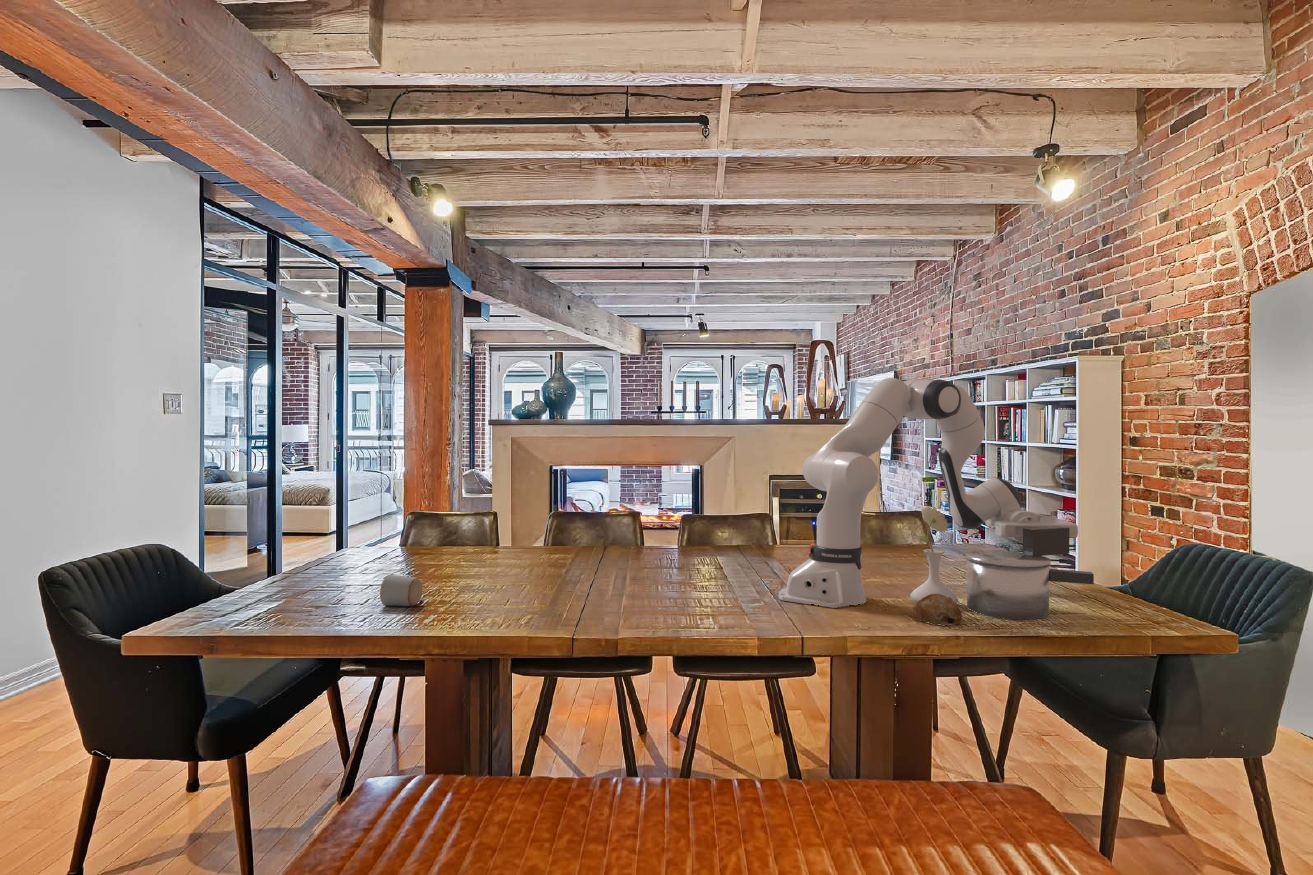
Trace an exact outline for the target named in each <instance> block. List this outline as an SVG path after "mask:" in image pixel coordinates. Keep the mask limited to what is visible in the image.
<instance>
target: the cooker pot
mask: <svg viewBox="0 0 1313 875" xmlns="http://www.w3.org/2000/svg"><path fill="white" fill-rule="evenodd" d="M1094 576H1095V574H1094V573H1093V572H1092V571H1084V570H1083V571H1082V570H1070V569H1069V570H1068V569H1058V568H1057V569H1055V568H1054V569H1052V568H1050V566H1048V567H1043V568H1009V567H998V566H991V565H985V564H979V563H975V562H972V561H969V560H967V559H966V608H967V607H968V608H969V609H971V610H973V611H975V612H977V613H976V614H978V613H981V614H984V615H983V616H985V615H986V616H985V617H989V616H990V617H991V618H995V619H1001V618H1004V619H1003V620H1009V619H1010V621H1029V622H1030V621H1041V620H1046V619H1048V618H1049V616H1050V582H1055V583H1056V582H1057V583H1068V584H1069V583H1070V584H1071V583H1072V584H1083V585H1085V584H1086V585H1095V584H1094V583H1095V582H1094V580H1095V577H1094ZM968 608H967V609H968ZM969 609H968V610H969ZM971 610H970V611H971ZM973 611H972V612H973ZM975 612H974V613H975ZM981 614H980V615H981Z"/></svg>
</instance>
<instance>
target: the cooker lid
mask: <svg viewBox="0 0 1313 875" xmlns="http://www.w3.org/2000/svg"><path fill="white" fill-rule="evenodd" d="M1069 554H1070V538H1069V528H1068V527H1061V526H1054V527H1035V528H1023V543H1022V552H1021V551H1012V550H1011V551H1010V550H998V549H995V550H993V549H992V550H991V549H989V550H988V549H985V550H982V549H981V550H972V551H971V550H970V551H967V552H966V553H965V559H966V561H967V560H969V561H972V562H975V563H979V564H985V565H991V566H998V567H1009V568H1043V567H1048V566H1049V567H1050V566H1052V564H1051V561H1052V559H1050V558H1048V557H1047V556H1056V555H1057V556H1058V555H1059V556H1060V555H1069Z"/></svg>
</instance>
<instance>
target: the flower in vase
mask: <svg viewBox="0 0 1313 875" xmlns="http://www.w3.org/2000/svg"><path fill="white" fill-rule="evenodd" d="M921 514H922V515H921V517H922V519H923V520H924V522H925V523H927V525H928V528H927V532H926V535H924V534H921V537H920V538H919V541H922V542H923V543H926V544H929V547H930V549H929V548H926V549H923V552H924V554H925V555H926V558H927V562H928V568H929V569H928V571H929V572H928V578H927V579H926V581H925V582H923V583H922V584H921V585H919V586H917V587H916V588H915V589H913V591H912V592H911V593H910V595H909V596H910V599H911V601H913V602H916V604H917V603H918V601H919V600H921V599H922V598H924V597H925V596H928V595H930V594H941V595H944V596H946V597H950V598H951V599H952V600H953V601H954V602H955V603H956V604H957V603H959V599H958V596H957V595H956V594H955V593H954V592H953V591H952V590H951V589H949V587H947V586H946V585H945V584H944V583H943V582H942V581H941V579H940V575H939V574H940V573H939V571H940V570H939V569H940V562H941V559H942V557H943V556H944V554H945V552H946V551H944V550H943V549H936V548H933V546H932V545H934V544H936V543H939V542H941V541H942V540H943V537H941V538H940V539H939V540H937V541H934V542H932V543H931V541H930V538H929V533H930V529H932V530H935V531H936V532H940V533H943V532H944V533H945V532H946V531H948V527H949V523H948V522H947V521H948V520H947V519H946V518H945V517H946V516H945V514H944V513H942V512H941V511H940V510H937V508H936V507H931V506H930V505H927V506H926V507H923V508H921Z"/></svg>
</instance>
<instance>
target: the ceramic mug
mask: <svg viewBox="0 0 1313 875" xmlns="http://www.w3.org/2000/svg"><path fill="white" fill-rule="evenodd" d="M422 594H423V584H422V582H421V580H420V579H419V578H417V577H413V576H408V575H407V576H405V575H404V576H403V575H399V574H398V575H397V574H387V575H386V576H385V577H384V578H383V580H382V583H381V586H380V590H379V598H380V602H381V604H382V605H384V606H385V607H386V606H388V607H389V606H391V607H414V606H417V604H418V603H419V602H420V600H421V598H422Z"/></svg>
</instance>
